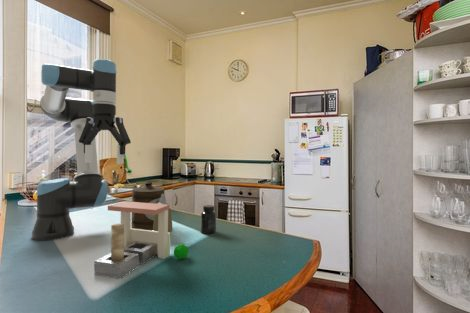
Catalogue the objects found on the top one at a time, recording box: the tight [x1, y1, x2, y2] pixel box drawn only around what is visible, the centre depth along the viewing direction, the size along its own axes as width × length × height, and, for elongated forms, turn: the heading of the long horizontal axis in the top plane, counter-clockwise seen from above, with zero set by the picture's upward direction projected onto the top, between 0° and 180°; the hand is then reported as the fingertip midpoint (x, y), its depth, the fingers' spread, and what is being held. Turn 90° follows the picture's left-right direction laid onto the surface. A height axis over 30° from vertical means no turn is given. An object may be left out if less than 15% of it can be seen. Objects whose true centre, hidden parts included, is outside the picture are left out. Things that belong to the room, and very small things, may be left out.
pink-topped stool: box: [107, 200, 171, 260], centre depth 100 cm, size 18×10×18 cm, turn 74°
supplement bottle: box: [200, 204, 217, 236], centre depth 130 cm, size 7×7×12 cm
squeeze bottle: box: [153, 193, 174, 235], centre depth 122 cm, size 8×8×18 cm
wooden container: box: [131, 180, 165, 231], centre depth 137 cm, size 15×15×22 cm
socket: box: [93, 252, 140, 279], centre depth 89 cm, size 9×9×4 cm
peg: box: [110, 223, 124, 261], centre depth 89 cm, size 4×4×14 cm
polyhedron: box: [173, 243, 189, 260], centre depth 99 cm, size 5×5×5 cm
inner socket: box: [124, 241, 158, 265], centre depth 99 cm, size 9×9×4 cm
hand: (104, 163), depth 105 cm, fingers open, 13 cm apart
